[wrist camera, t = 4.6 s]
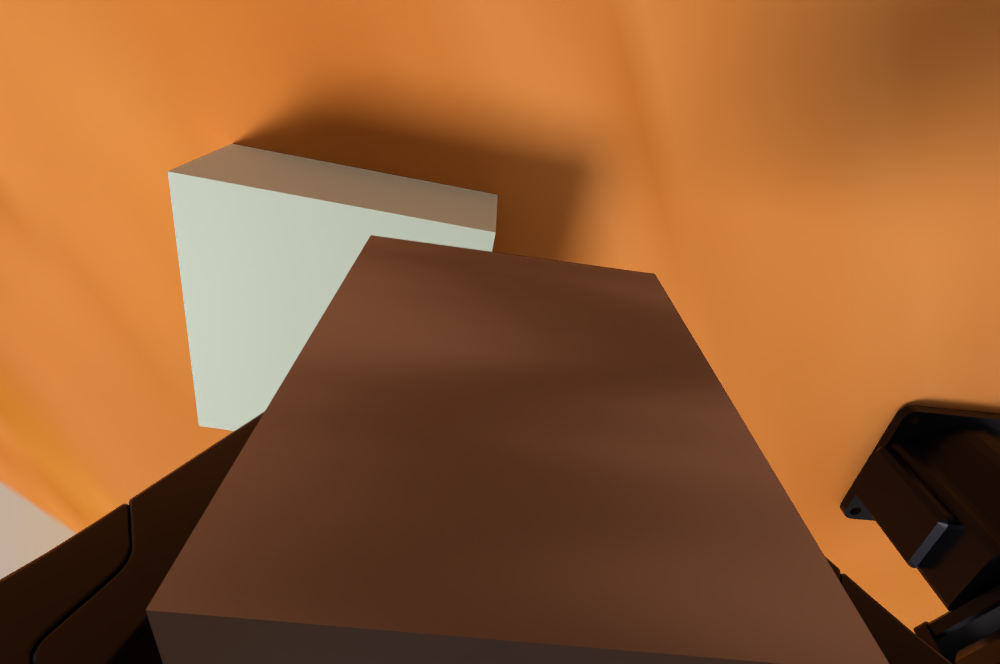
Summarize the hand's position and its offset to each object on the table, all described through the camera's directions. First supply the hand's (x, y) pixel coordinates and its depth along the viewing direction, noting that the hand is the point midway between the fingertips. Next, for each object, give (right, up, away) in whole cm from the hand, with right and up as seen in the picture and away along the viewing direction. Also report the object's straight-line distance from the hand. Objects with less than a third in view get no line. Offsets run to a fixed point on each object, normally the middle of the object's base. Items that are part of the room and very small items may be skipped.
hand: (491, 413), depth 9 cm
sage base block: (-5, +3, +12) cm, 13 cm away
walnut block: (0, +1, +1) cm, 1 cm away
